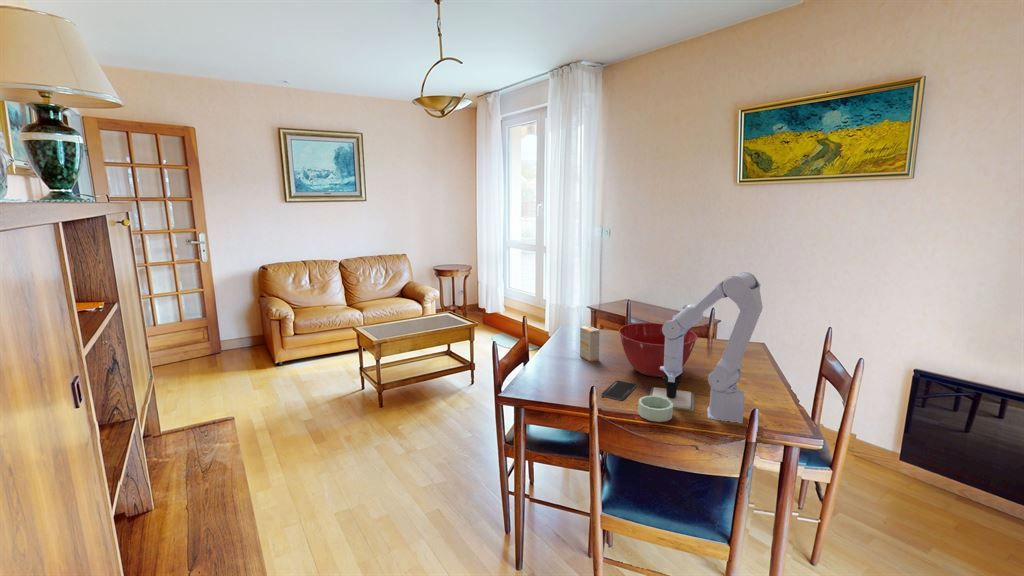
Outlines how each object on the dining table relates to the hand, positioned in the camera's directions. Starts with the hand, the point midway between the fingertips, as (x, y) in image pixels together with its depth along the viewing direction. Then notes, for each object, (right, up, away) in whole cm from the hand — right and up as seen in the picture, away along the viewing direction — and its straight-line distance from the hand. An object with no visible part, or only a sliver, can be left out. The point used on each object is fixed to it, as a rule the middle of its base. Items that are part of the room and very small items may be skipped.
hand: (671, 395), depth 154 cm
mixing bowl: (+3, +3, +26) cm, 26 cm away
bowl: (-8, -4, -10) cm, 14 cm away
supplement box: (-20, +6, +41) cm, 46 cm away
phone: (-15, -1, +7) cm, 17 cm away
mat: (0, -2, 0) cm, 2 cm away
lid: (0, -1, 0) cm, 1 cm away
